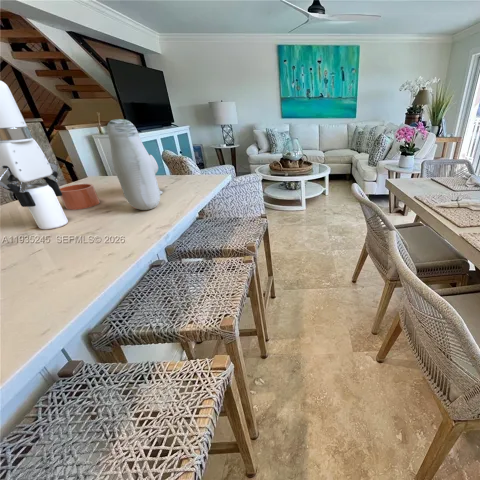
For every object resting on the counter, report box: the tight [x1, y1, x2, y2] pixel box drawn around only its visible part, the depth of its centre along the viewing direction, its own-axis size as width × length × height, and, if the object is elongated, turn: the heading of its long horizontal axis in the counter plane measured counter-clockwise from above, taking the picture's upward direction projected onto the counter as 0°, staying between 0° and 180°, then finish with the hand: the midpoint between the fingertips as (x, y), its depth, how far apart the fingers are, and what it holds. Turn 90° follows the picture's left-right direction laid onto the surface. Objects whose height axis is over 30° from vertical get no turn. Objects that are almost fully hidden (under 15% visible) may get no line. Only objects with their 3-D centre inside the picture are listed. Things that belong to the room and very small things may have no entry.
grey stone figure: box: [106, 118, 161, 211], centre depth 84 cm, size 10×10×28 cm
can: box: [25, 182, 69, 231], centre depth 75 cm, size 6×6×12 cm
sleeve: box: [59, 183, 101, 211], centre depth 90 cm, size 9×9×7 cm
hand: (43, 200), depth 75 cm, fingers open, 8 cm apart
